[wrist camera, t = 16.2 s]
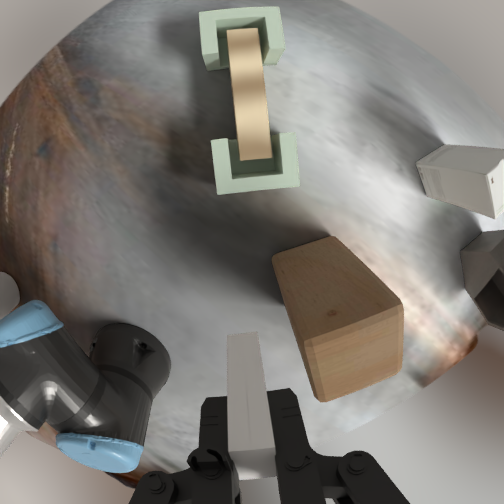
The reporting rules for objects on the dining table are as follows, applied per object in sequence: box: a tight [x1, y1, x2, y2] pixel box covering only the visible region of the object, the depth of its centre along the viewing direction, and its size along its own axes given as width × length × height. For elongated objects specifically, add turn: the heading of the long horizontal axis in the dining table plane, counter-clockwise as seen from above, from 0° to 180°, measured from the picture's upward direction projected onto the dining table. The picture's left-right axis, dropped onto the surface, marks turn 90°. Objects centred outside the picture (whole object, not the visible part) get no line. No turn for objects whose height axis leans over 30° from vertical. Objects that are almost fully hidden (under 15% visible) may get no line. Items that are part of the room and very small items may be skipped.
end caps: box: [199, 7, 300, 195], centre depth 30 cm, size 22×9×7 cm, turn 6°
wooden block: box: [272, 236, 404, 402], centre depth 33 cm, size 10×10×20 cm
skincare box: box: [416, 144, 504, 219], centre depth 30 cm, size 8×7×16 cm
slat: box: [227, 28, 272, 161], centre depth 29 cm, size 16×4×5 cm, turn 6°
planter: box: [460, 230, 504, 331], centre depth 36 cm, size 17×8×21 cm
